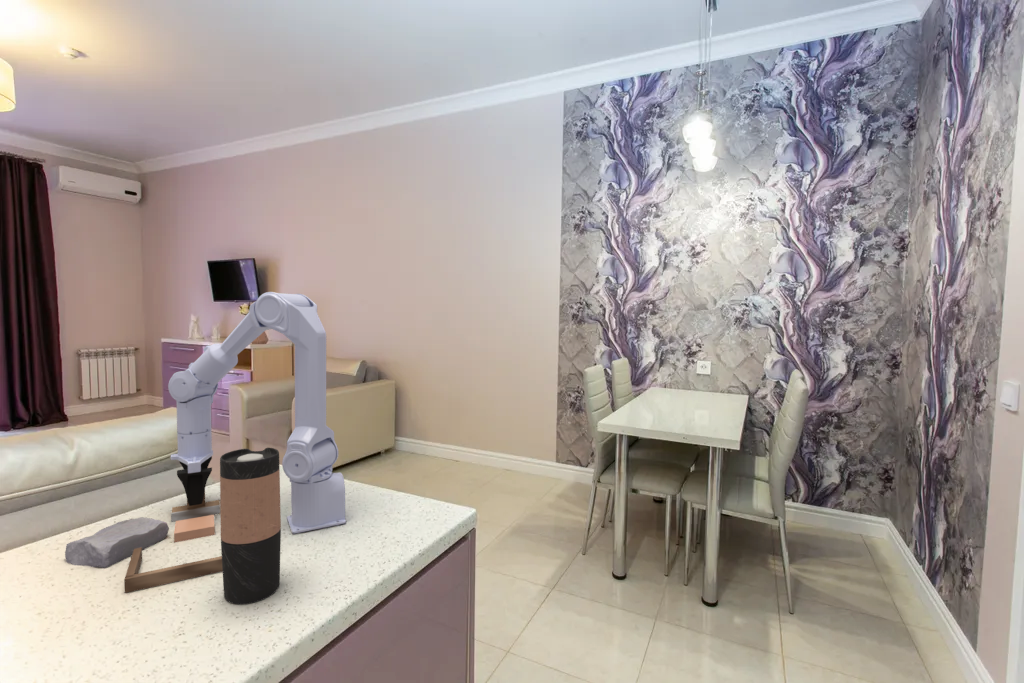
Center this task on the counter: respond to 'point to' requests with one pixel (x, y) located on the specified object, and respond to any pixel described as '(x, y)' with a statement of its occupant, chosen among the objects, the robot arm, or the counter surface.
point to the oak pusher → (195, 510)
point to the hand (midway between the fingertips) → (196, 498)
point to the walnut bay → (166, 572)
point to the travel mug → (250, 524)
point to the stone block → (116, 542)
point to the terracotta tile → (194, 528)
